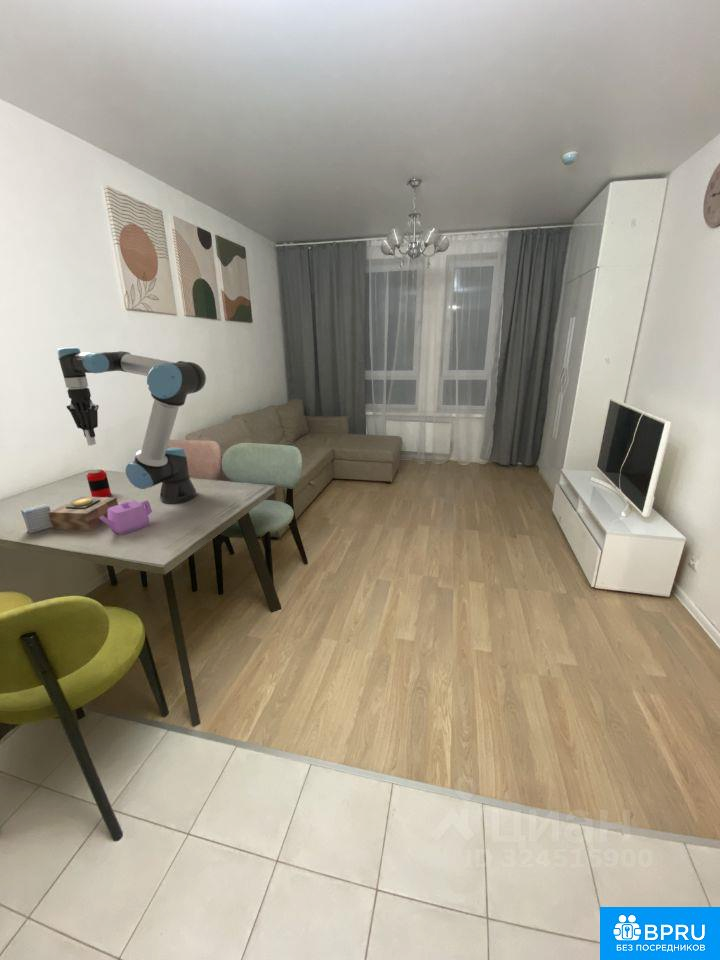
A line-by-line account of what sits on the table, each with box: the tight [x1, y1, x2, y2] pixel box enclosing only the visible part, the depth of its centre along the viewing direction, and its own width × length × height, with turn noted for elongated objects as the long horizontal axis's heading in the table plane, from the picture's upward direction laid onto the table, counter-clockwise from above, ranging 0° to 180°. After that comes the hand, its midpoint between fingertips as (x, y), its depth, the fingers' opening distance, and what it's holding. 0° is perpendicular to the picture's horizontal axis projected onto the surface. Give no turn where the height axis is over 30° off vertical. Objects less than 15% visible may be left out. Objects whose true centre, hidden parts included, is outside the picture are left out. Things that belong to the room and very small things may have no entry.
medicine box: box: [21, 503, 53, 534], centre depth 152 cm, size 8×4×9 cm, turn 141°
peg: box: [74, 498, 92, 506], centre depth 158 cm, size 6×6×8 cm
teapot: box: [99, 500, 153, 536], centre depth 151 cm, size 18×10×10 cm, turn 143°
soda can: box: [86, 469, 112, 497], centre depth 184 cm, size 8×8×12 cm
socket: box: [48, 496, 119, 531], centre depth 158 cm, size 16×16×8 cm
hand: (92, 444), depth 169 cm, fingers closed
